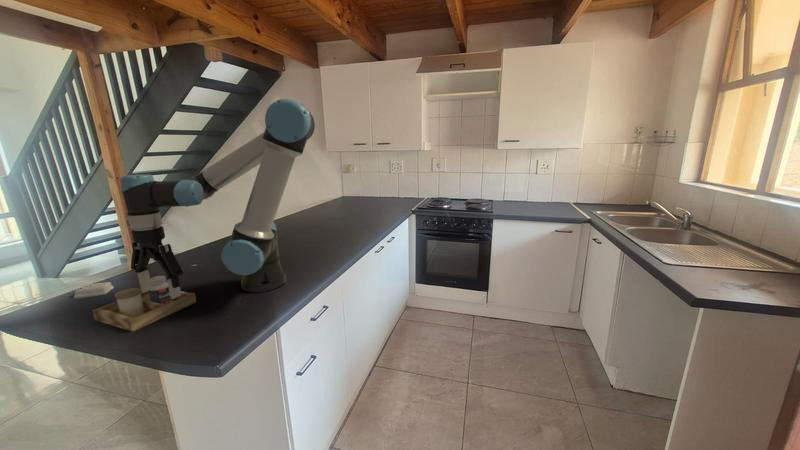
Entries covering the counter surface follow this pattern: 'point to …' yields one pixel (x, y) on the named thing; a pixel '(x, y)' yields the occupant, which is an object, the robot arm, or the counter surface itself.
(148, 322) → the caddy
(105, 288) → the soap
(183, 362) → the counter surface
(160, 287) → the pill bottle
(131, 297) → the jar
